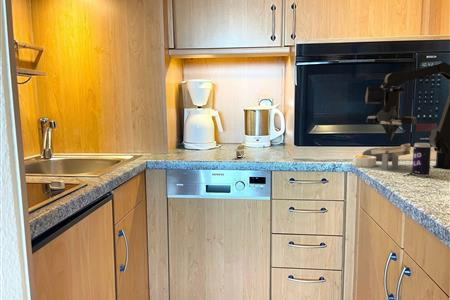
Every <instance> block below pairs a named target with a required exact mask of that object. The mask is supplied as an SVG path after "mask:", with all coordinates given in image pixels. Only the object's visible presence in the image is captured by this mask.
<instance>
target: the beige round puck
mask: <svg viewBox="0 0 450 300" xmlns="http://www.w3.org/2000/svg"><path fill="white" fill-rule="evenodd" d="M359 155H360V154H359ZM359 155H358V154H357V155H353V156H352V164H353V165H354V166H360V167H374V166H376V164H377V161H376V157H374V156H367V155H364V156H365V157H366V158H357V157H358V156H359Z"/></svg>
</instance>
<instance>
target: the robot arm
mask: <svg viewBox="0 0 450 300" xmlns="http://www.w3.org/2000/svg"><path fill="white" fill-rule="evenodd" d="M436 74H439V75H440V76H442V77H443V78H444V79H446V80H448V92H449V94H448V97H447V99H446V102H445V106H444V108H443V112H442V115H441V119H440V121H439V124H438V126H437V128H436V129H431V131H430V135H429V137H428V140H429V144H430V146H431V148H433V150H434V152H436V156H435V157H436V159H435V164H434V165H432V168H437V169H438V168H439V169H447V170H450V64H448V63H447V62H445V61H443V62H439V63H437V64H434V65H429V66H426V67H420V68H418V69H417V68H416V69H414V70H410V71H409V70H407V71H396V72H391V73H388V74H387V75H385V78H384V82H383V83H382V85H380V86H377V87H374V86H373V87H372V86H368V87H366V91H365V92H366V93H365V97H364V98H365V104H381V102H383V101H384V105H382V108H381V110H380V111H379V112H377V114H376V115H368V116H367V118H366V123H368V124H369V123H371V124H375V123H379V126H382V128H383V129H384V131H385V135H386V137H387V140H388V141H390V142H391V141H392V140H393V137H394V135H395V134H396V132H397V130H398V129H399V127H401V126H402V125H417V124H418V122H417V121H418V120H417V117H416V116H402V117H400V116H401V115H400V109H401V105H400V102H401V100H400V99H401V93H406V89H404V88H403V85H404V84H405V83H407V82H410V81H412V80H417V79H421V78H424V77H428V76H433V75H436ZM400 85H402V86H400ZM394 87H395V88H394Z"/></svg>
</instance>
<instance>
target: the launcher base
mask: <svg viewBox="0 0 450 300" xmlns="http://www.w3.org/2000/svg"><path fill="white" fill-rule="evenodd" d="M388 156H389V155H387V154H382V161H381V164H380V163H376V166H374V167H360V166H354V165H353V163H351V164H346V165H345V166H346V167H351V168H360V169H364V170H365V169H367V170H374V171H382V172H387V173H389V172H390V173H396V174H402V177H406V176H409V175H414V174H413V173H412V167H408V166H407V167H406V166H399V156H396V154H395V152H393V153H392V161H391V164H389V161H388Z"/></svg>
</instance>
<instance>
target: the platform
mask: <svg viewBox="0 0 450 300" xmlns="http://www.w3.org/2000/svg"><path fill="white" fill-rule="evenodd" d="M236 147H237V148H235V149H233V152H236V153H235V154H236V156H235V157H238V156H241V155H242V156H243V155H244V156H245V150H247V147H245V144H243V145H242V144H240V145H237V146H236Z"/></svg>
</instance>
